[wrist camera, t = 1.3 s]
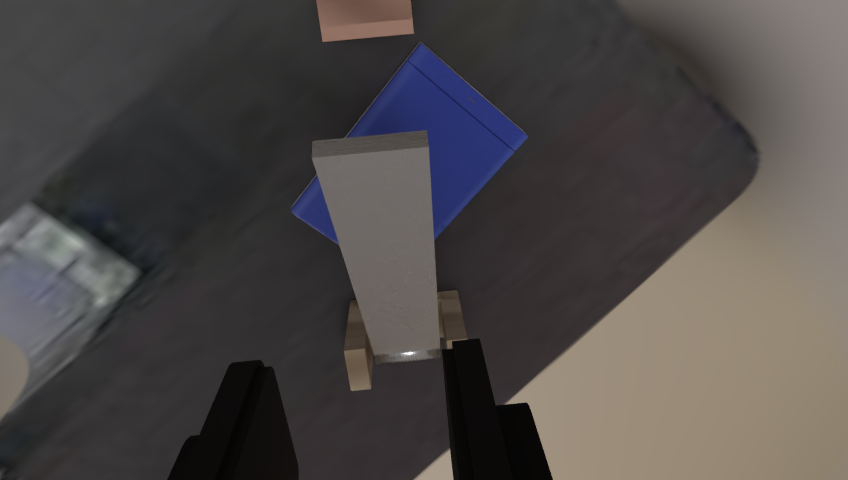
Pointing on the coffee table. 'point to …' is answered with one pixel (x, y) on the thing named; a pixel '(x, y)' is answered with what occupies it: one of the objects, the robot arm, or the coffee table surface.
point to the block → (364, 18)
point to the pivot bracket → (360, 347)
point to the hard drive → (431, 136)
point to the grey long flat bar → (386, 237)
